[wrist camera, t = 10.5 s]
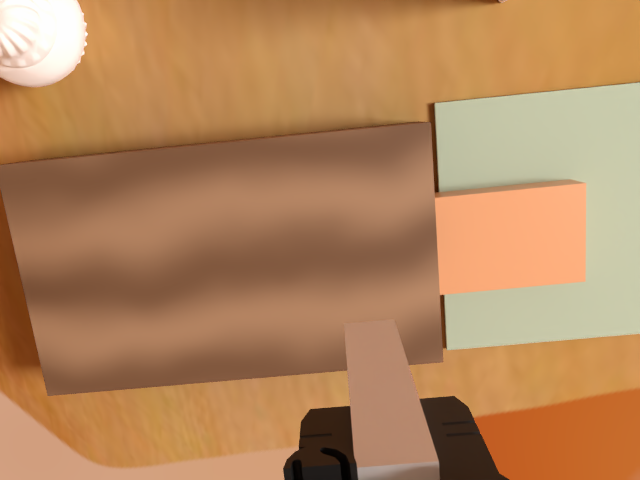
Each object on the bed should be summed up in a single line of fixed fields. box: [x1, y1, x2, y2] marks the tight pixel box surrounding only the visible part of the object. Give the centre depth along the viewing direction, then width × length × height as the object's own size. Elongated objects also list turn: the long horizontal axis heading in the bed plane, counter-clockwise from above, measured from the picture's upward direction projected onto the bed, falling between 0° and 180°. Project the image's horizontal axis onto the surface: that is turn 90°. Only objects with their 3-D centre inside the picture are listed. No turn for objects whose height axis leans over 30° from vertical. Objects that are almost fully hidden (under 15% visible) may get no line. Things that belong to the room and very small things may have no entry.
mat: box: [434, 83, 640, 350], centre depth 34 cm, size 16×14×1 cm
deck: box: [0, 122, 443, 396], centre depth 33 cm, size 14×24×4 cm, turn 96°
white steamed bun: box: [0, 0, 88, 87], centre depth 29 cm, size 6×6×7 cm
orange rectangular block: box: [435, 179, 586, 295], centre depth 33 cm, size 6×9×2 cm, turn 96°
